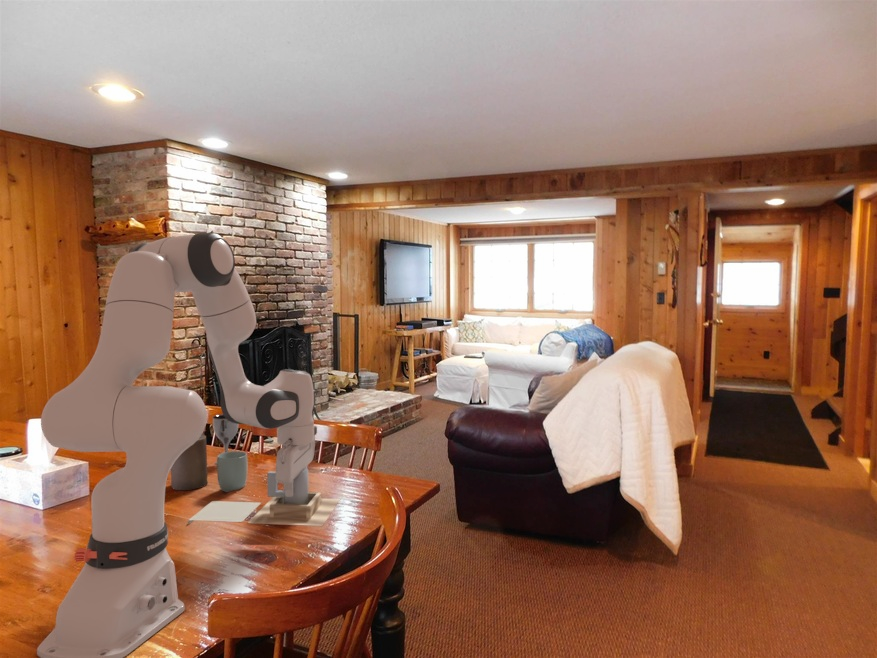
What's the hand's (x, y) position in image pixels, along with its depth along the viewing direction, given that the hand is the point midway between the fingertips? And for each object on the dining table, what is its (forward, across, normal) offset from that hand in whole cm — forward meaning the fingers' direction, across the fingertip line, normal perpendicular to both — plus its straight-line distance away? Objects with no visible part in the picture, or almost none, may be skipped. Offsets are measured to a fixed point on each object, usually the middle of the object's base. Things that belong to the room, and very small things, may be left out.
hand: (295, 489), depth 148 cm
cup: (+7, +16, +23) cm, 29 cm away
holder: (+6, 0, 0) cm, 6 cm away
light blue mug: (+5, 0, +2) cm, 6 cm away
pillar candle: (+7, +19, +37) cm, 42 cm away
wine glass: (+7, +42, +36) cm, 56 cm away
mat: (+6, -2, +17) cm, 18 cm away
